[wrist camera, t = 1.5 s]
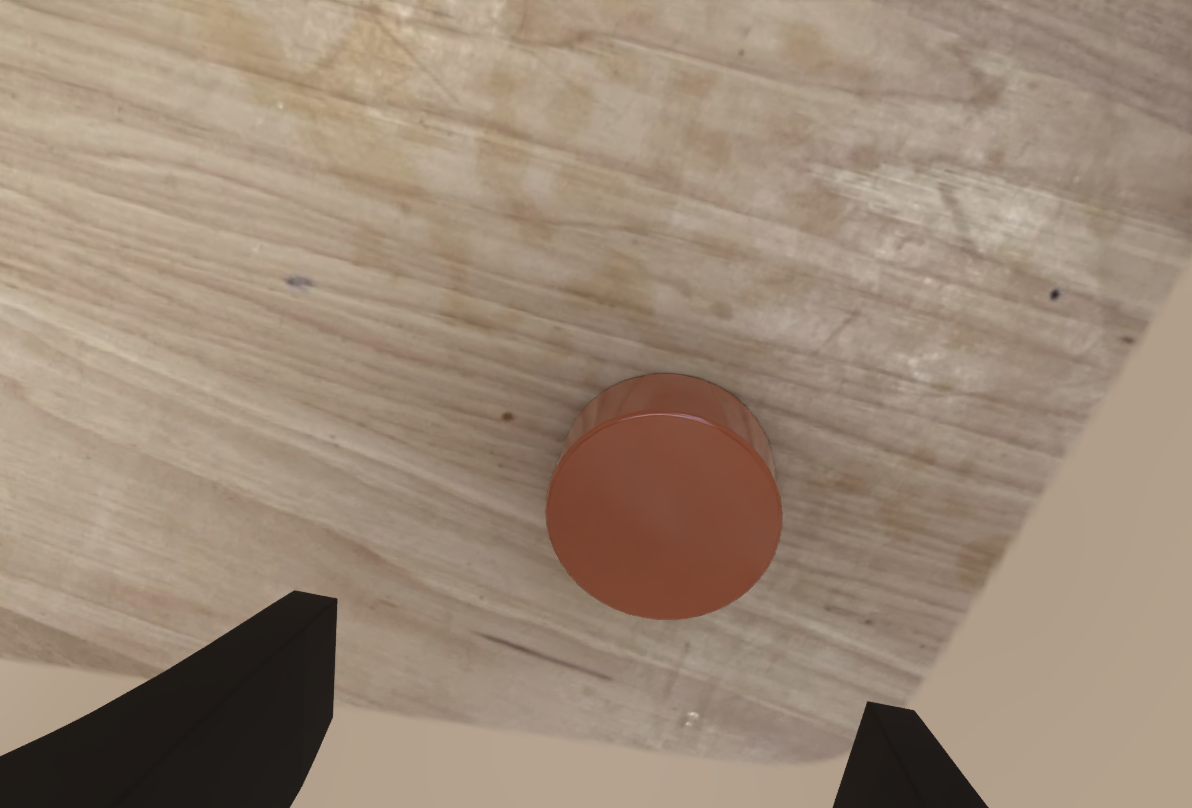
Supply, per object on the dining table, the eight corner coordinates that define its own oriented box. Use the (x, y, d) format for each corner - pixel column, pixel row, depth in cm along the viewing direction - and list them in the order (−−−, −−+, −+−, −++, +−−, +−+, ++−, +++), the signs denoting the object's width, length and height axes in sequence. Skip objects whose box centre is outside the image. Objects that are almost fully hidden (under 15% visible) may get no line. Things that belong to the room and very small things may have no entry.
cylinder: (749, 581, 20) (753, 641, 18) (548, 543, 20) (531, 598, 18) (796, 393, 18) (808, 435, 16) (576, 354, 18) (560, 391, 16)
